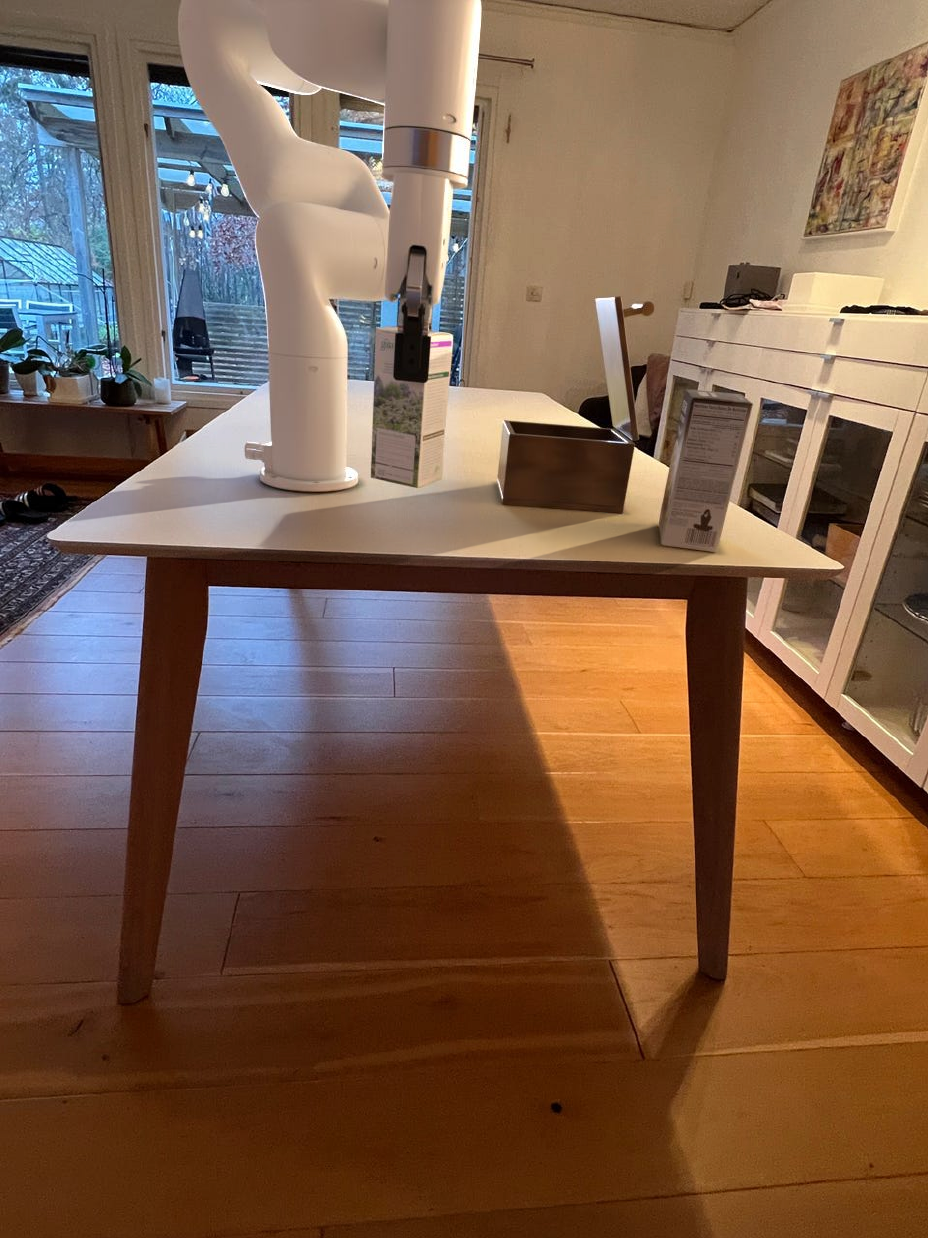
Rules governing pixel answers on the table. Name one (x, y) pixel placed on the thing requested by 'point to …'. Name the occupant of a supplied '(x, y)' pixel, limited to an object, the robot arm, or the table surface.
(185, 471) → the table surface
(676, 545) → the coffee box
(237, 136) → the robot arm
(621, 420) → the lid
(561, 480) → the brown wooden box
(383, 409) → the syrup box
